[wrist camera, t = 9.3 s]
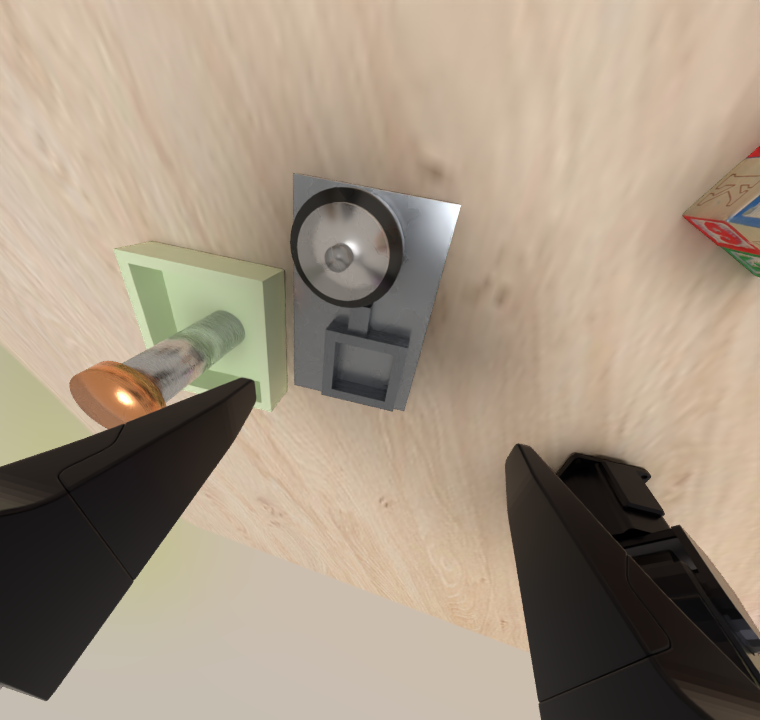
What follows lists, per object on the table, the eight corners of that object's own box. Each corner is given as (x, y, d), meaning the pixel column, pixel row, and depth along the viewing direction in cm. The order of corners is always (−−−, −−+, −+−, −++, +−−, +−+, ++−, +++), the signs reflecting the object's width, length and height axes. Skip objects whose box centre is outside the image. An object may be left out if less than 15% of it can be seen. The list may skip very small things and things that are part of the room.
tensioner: (405, 403, 26) (399, 440, 22) (299, 378, 26) (276, 409, 23) (459, 204, 17) (465, 209, 13) (300, 173, 18) (263, 170, 14)
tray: (287, 390, 27) (271, 412, 25) (184, 365, 28) (158, 383, 25) (284, 269, 21) (262, 281, 19) (152, 241, 22) (113, 248, 19)
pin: (253, 356, 25) (158, 444, 17) (206, 344, 25) (89, 425, 17) (249, 309, 23) (134, 384, 14) (197, 298, 23) (55, 364, 14)
